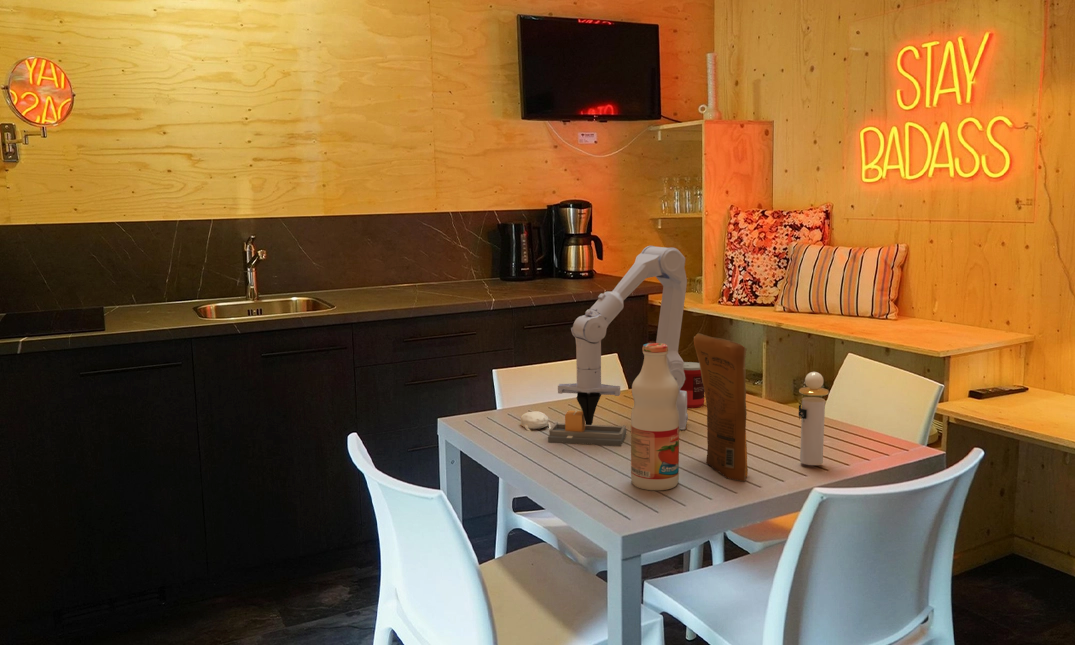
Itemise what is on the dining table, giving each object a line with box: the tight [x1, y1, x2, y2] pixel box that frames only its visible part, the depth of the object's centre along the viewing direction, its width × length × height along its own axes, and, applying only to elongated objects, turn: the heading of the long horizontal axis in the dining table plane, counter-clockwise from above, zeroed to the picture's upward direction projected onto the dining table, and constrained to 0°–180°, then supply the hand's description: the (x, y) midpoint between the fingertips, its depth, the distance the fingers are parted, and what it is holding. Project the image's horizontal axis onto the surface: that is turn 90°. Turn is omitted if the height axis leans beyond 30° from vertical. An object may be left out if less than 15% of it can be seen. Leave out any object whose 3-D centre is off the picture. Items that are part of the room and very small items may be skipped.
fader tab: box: [564, 410, 586, 432], centre depth 199 cm, size 4×4×4 cm
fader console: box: [547, 421, 628, 447], centre depth 198 cm, size 17×10×2 cm, turn 76°
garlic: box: [520, 410, 552, 431], centre depth 208 cm, size 8×7×4 cm
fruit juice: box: [630, 342, 680, 491], centre depth 165 cm, size 9×9×28 cm
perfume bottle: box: [798, 371, 830, 466], centre depth 175 cm, size 6×6×20 cm
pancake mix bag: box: [693, 332, 749, 482], centre depth 173 cm, size 7×19×28 cm, turn 13°
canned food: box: [680, 361, 705, 409], centre depth 226 cm, size 8×8×11 cm
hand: (589, 423), depth 198 cm, fingers closed
